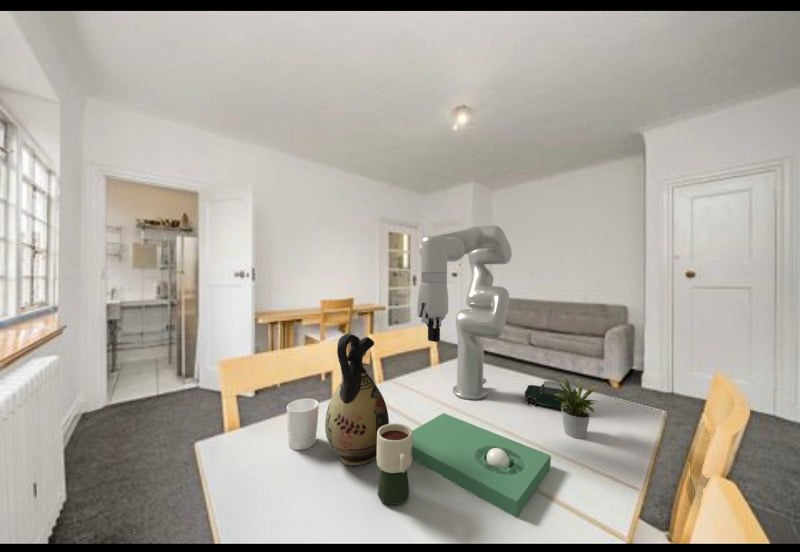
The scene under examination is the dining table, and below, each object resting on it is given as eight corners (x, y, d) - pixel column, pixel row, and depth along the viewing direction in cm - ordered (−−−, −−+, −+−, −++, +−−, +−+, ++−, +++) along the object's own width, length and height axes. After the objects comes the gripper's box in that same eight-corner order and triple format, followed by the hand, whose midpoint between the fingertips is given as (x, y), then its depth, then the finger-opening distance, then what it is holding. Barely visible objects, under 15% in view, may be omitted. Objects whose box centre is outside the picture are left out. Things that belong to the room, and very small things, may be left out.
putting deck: (397, 450, 76) (398, 438, 76) (443, 422, 91) (443, 413, 91) (516, 517, 56) (516, 501, 56) (550, 468, 71) (550, 455, 71)
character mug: (420, 512, 57) (422, 443, 57) (384, 522, 54) (385, 450, 54) (400, 475, 67) (402, 416, 67) (369, 482, 65) (370, 421, 64)
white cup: (309, 431, 84) (309, 396, 84) (323, 443, 79) (324, 405, 79) (281, 442, 79) (281, 404, 79) (294, 455, 73) (295, 414, 73)
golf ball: (499, 481, 68) (482, 463, 72) (514, 465, 70) (496, 447, 73) (499, 475, 65) (481, 455, 68) (514, 457, 66) (495, 439, 70)
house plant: (535, 432, 87) (536, 375, 86) (550, 416, 97) (551, 365, 97) (593, 453, 77) (595, 389, 77) (603, 433, 87) (605, 376, 87)
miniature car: (526, 395, 114) (527, 374, 114) (582, 407, 104) (583, 384, 104) (522, 404, 106) (522, 381, 106) (582, 418, 97) (583, 393, 96)
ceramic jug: (350, 431, 85) (352, 325, 85) (398, 447, 78) (401, 331, 77) (305, 465, 70) (307, 335, 69) (360, 488, 63) (363, 344, 62)
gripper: (437, 277, 97) (437, 334, 98) (407, 279, 86) (407, 343, 86) (458, 278, 92) (458, 338, 93) (429, 280, 81) (429, 348, 81)
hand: (433, 340), depth 89 cm, fingers closed
